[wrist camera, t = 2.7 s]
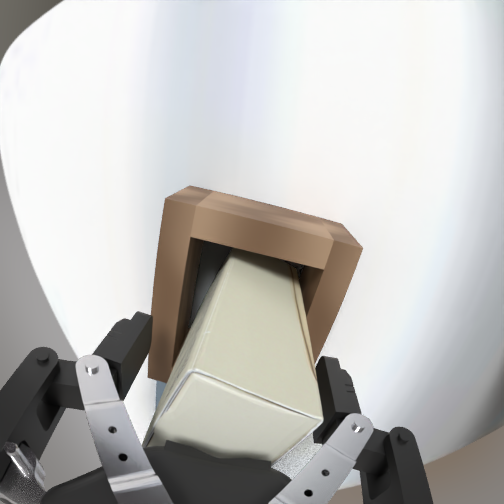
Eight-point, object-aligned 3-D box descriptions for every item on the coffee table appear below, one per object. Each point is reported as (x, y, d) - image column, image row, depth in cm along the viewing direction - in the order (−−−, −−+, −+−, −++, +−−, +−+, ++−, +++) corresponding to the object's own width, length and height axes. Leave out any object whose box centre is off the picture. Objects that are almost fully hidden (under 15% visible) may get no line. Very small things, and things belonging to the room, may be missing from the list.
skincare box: (252, 336, 21) (236, 494, 9) (195, 308, 20) (133, 458, 9) (299, 264, 19) (333, 424, 7) (236, 231, 18) (186, 369, 7)
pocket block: (341, 223, 18) (362, 248, 13) (288, 366, 22) (291, 410, 17) (189, 185, 17) (165, 198, 13) (166, 338, 21) (147, 377, 17)
